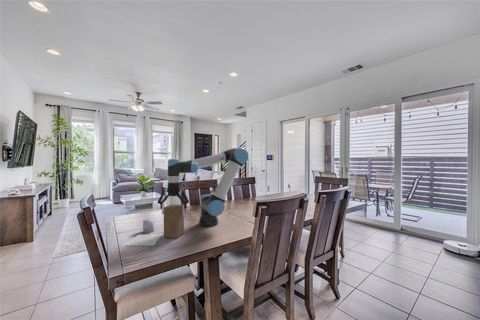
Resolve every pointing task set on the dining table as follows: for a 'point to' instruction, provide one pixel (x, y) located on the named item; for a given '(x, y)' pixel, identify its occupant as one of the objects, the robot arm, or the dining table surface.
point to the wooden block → (173, 221)
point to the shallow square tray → (145, 240)
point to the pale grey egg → (148, 225)
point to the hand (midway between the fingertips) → (173, 213)
